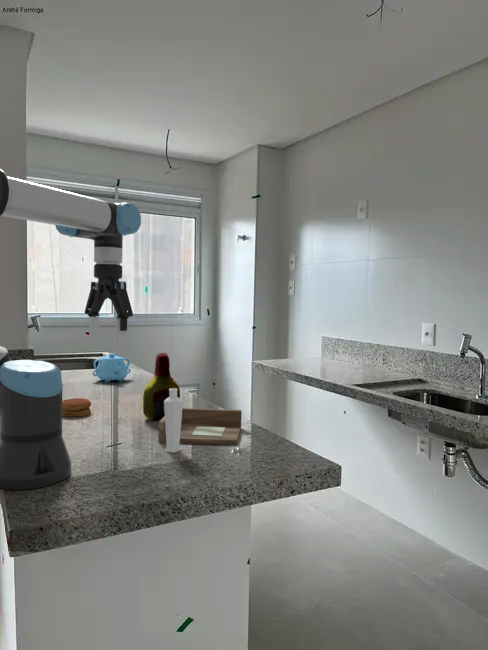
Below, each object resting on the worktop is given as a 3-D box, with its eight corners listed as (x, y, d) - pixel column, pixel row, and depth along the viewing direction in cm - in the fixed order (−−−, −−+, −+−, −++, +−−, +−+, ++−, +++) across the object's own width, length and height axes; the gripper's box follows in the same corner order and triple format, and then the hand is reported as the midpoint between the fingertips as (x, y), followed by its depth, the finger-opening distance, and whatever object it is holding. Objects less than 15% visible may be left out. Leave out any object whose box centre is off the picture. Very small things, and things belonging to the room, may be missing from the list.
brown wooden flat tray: (236, 445, 125) (236, 424, 124) (158, 442, 126) (158, 422, 126) (241, 428, 140) (241, 410, 140) (172, 425, 142) (172, 407, 142)
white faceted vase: (164, 453, 117) (164, 391, 116) (162, 448, 121) (162, 387, 120) (183, 452, 118) (184, 390, 117) (181, 446, 122) (181, 387, 121)
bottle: (176, 414, 156) (176, 351, 155) (183, 418, 150) (184, 353, 149) (139, 418, 150) (139, 352, 149) (145, 423, 144) (146, 355, 143)
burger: (91, 416, 151) (91, 401, 151) (59, 419, 148) (59, 403, 148) (90, 409, 160) (90, 395, 160) (60, 411, 157) (60, 397, 157)
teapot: (86, 379, 216) (86, 352, 216) (123, 376, 225) (123, 350, 225) (99, 386, 200) (99, 357, 199) (139, 383, 208) (139, 355, 208)
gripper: (147, 263, 129) (145, 344, 130) (96, 266, 146) (95, 337, 147) (122, 261, 124) (121, 345, 125) (72, 264, 140) (72, 338, 141)
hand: (107, 341), depth 136 cm, fingers open, 13 cm apart
